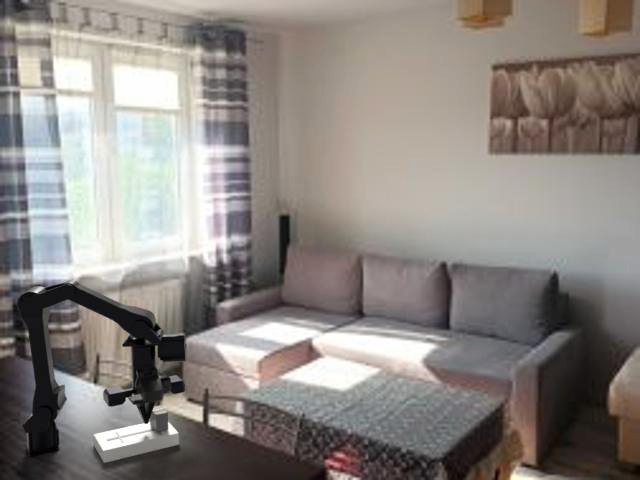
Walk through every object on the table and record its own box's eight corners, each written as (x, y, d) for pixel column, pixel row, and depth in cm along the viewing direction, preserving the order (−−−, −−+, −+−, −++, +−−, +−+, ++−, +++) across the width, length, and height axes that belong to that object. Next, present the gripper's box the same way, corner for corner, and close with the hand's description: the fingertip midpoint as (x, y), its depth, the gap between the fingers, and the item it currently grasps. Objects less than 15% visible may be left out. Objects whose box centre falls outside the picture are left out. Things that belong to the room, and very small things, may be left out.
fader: (156, 432, 156) (155, 414, 156) (150, 424, 161) (149, 407, 160) (168, 429, 158) (168, 411, 157) (162, 422, 162) (161, 405, 162)
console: (103, 462, 148) (103, 450, 147) (94, 445, 156) (93, 433, 156) (178, 444, 157) (178, 432, 157) (165, 429, 166) (165, 417, 165)
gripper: (113, 379, 143) (115, 445, 146) (192, 365, 153) (193, 427, 155) (101, 365, 153) (104, 427, 155) (176, 352, 163) (178, 411, 165)
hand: (146, 423), depth 157 cm, fingers closed
